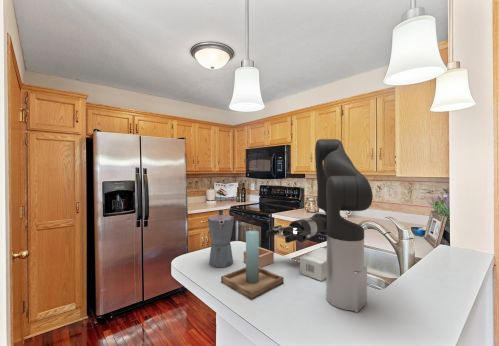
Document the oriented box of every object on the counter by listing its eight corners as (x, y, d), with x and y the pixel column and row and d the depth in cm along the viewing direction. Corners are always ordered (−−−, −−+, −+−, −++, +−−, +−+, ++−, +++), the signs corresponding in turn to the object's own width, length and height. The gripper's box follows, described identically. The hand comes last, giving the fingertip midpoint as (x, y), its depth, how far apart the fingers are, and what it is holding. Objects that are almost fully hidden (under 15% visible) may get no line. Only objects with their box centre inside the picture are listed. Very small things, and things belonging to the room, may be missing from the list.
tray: (283, 283, 73) (283, 277, 73) (251, 299, 63) (251, 293, 63) (252, 269, 83) (252, 264, 83) (221, 282, 73) (221, 276, 73)
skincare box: (320, 281, 74) (342, 269, 84) (321, 262, 74) (342, 252, 84) (298, 273, 80) (321, 262, 90) (298, 255, 80) (321, 246, 90)
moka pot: (209, 272, 80) (209, 213, 80) (206, 256, 95) (206, 206, 95) (236, 269, 82) (236, 212, 82) (229, 254, 97) (229, 205, 97)
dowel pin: (261, 280, 73) (261, 232, 73) (252, 285, 70) (252, 234, 70) (252, 276, 76) (252, 229, 76) (243, 280, 73) (243, 232, 73)
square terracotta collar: (273, 262, 89) (273, 251, 89) (258, 268, 84) (258, 257, 83) (258, 256, 95) (258, 246, 95) (243, 262, 89) (243, 251, 89)
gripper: (288, 216, 97) (260, 222, 86) (319, 222, 86) (293, 229, 75) (288, 234, 97) (260, 243, 86) (319, 242, 87) (293, 253, 75)
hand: (276, 237), depth 81 cm, fingers open, 8 cm apart
